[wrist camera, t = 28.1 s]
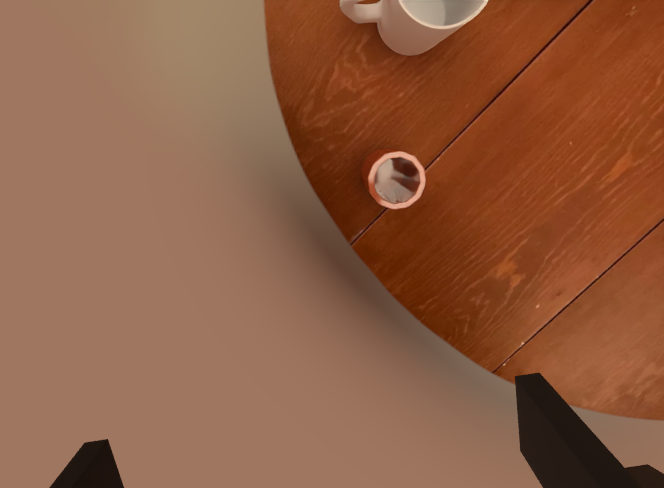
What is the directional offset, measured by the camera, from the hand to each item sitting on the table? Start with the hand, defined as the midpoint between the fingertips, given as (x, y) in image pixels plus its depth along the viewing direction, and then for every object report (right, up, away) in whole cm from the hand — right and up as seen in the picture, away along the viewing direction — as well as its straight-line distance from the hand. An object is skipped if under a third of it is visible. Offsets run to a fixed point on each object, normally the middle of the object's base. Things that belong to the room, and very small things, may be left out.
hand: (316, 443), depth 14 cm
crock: (+6, +13, +29) cm, 33 cm away
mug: (+6, +27, +26) cm, 38 cm away
